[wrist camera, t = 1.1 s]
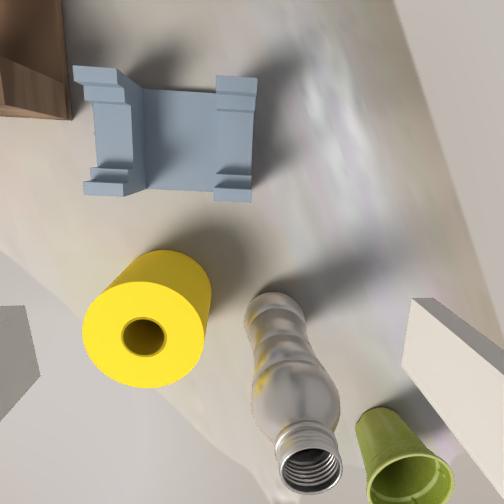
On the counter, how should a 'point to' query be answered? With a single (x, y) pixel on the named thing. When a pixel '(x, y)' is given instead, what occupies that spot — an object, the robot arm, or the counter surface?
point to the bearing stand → (33, 60)
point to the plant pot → (400, 462)
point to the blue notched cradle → (170, 136)
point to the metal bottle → (293, 395)
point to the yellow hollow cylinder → (150, 320)
